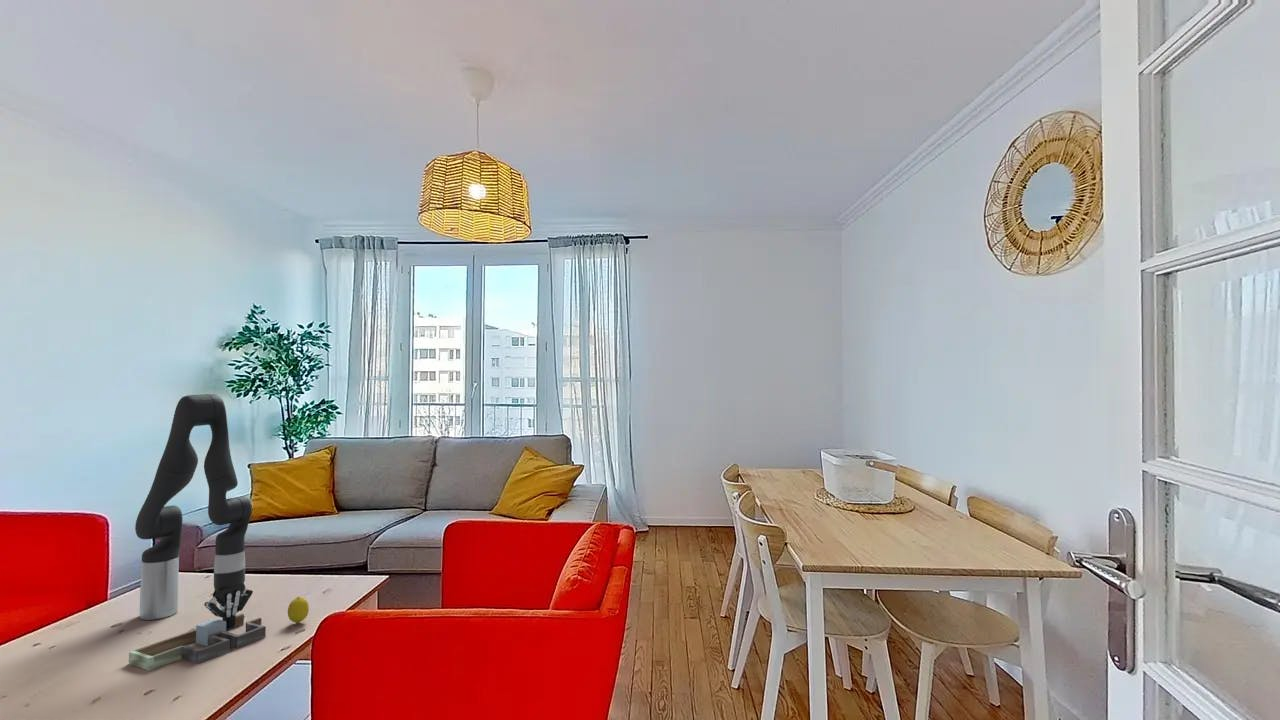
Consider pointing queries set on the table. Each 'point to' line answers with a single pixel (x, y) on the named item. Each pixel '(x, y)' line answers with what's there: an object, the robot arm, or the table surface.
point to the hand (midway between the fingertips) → (228, 628)
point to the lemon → (298, 610)
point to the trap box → (176, 650)
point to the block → (209, 630)
